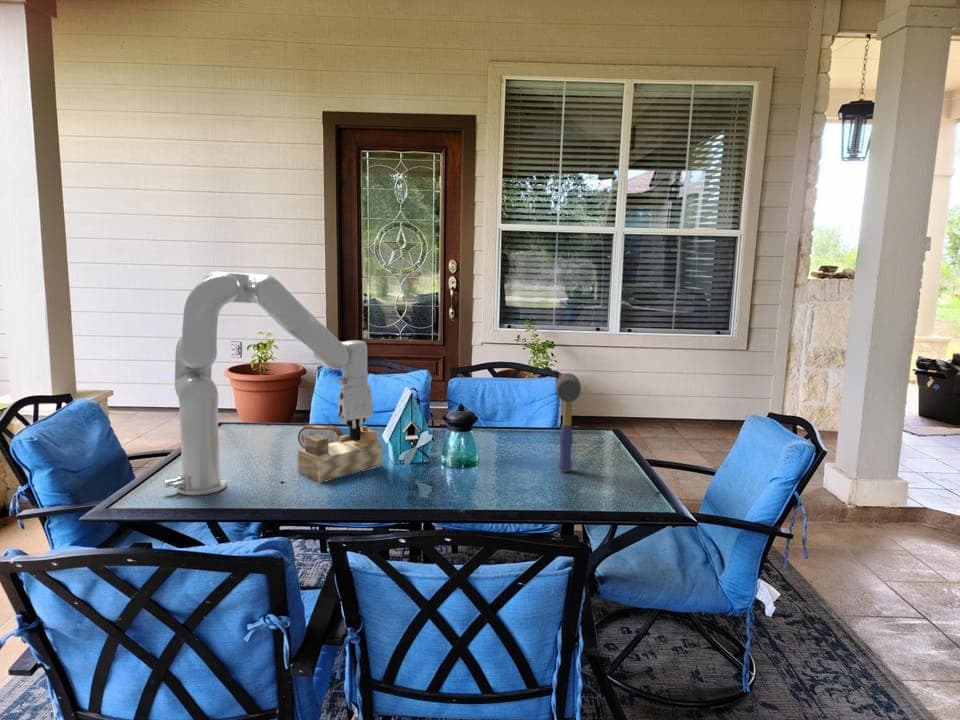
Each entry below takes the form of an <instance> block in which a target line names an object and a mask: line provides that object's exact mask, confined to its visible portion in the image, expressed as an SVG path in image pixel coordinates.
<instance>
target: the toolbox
mask: <svg viewBox="0 0 960 720" xmlns="http://www.w3.org/2000/svg"><path fill="white" fill-rule="evenodd" d="M337 442H339V443H342V444H344V445H347V446H350V447H353V448H356V449H358V450H359V453H357V454H353V455H348V456H344V457H340V458H336V459H331V460H327V461H323V462H318V461H316V460H313V459H311V458H308V457H306V456H303V455H301V454H299V453H298V452H297V453H296V455H297V461H296V463H297V473H298V472H299V473H301V474H303V475H302V476H304V475H306V476H308V477H310V478H312V479H311V480H313V479H314V480H313V481H315V480H317V481H319V482H321V481H325V480H329V479H333V478H336V479H338V478H337V477H340V476H344V475H348V474H352V473H355V472H359V471H363V470H367V469H370V468H373V467H377V466H380V465H382V464H383V461H382V460H383V456H382V455H383V453H382V452H383V451H382V448H383V447H382V444H381V443H380V442H381V441H380V439H378V440H374V441H370V442H365V443H362V442H359V441H353V440H351V439H350V434H347V435H343V436H340V437H339V441H337ZM382 466H383V465H382ZM367 471H368V470H367ZM363 472H364V471H363ZM299 473H298V474H299ZM359 473H360V472H359ZM301 474H300V475H301ZM352 475H353V474H352ZM306 476H305V477H306ZM348 476H349V475H348ZM308 477H307V478H308ZM344 477H345V476H344ZM310 478H309V479H310ZM340 478H341V477H340ZM333 480H334V479H333ZM317 481H316V482H317ZM329 481H330V480H329ZM319 482H318V483H319ZM325 482H326V481H325ZM321 483H322V482H321Z"/></svg>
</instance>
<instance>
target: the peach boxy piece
mask: <svg viewBox="0 0 960 720" xmlns="http://www.w3.org/2000/svg"><path fill="white" fill-rule="evenodd" d="M378 435H379V434H378V431H375V430H373V429H372V430H371V429H369V428H368V426H367V425H363V426H362V427H361V436H360V441H359V442H362V443H365V442H370V441H374V440H379V439H378V437H379V436H378Z"/></svg>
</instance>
